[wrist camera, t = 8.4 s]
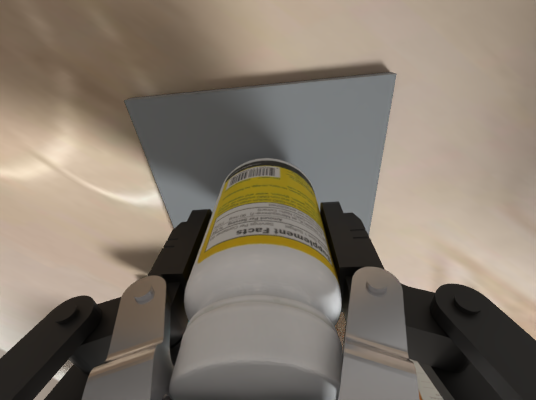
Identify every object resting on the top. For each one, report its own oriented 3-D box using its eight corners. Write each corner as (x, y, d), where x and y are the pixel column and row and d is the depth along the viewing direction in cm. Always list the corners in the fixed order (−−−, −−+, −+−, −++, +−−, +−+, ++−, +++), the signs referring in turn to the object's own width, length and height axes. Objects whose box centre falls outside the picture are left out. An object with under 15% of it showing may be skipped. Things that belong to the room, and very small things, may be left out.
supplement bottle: (279, 246, 14) (283, 450, 7) (205, 209, 13) (120, 414, 6) (335, 187, 12) (419, 398, 5) (251, 135, 11) (203, 321, 4)
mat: (390, 72, 11) (396, 73, 10) (363, 240, 16) (366, 247, 16) (130, 98, 12) (124, 100, 11) (187, 249, 17) (185, 256, 17)
